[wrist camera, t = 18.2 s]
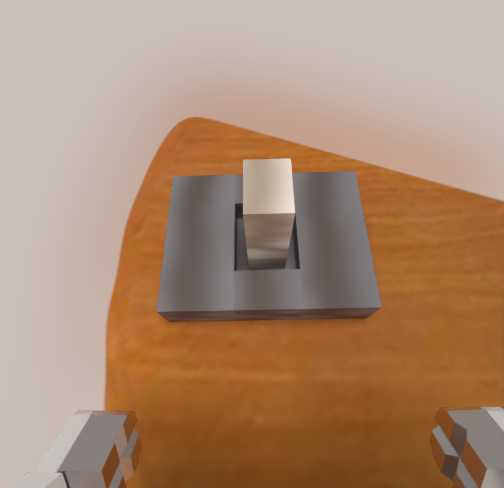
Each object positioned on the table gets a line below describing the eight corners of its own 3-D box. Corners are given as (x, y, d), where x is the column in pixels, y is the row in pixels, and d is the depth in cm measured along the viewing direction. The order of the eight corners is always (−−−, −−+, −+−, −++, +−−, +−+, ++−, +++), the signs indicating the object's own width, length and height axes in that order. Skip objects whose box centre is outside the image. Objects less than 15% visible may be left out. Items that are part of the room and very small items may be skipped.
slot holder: (345, 194, 30) (355, 171, 27) (366, 317, 25) (381, 307, 22) (182, 198, 30) (173, 176, 27) (169, 321, 25) (156, 311, 22)
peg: (282, 227, 27) (290, 158, 19) (284, 269, 26) (295, 213, 18) (248, 227, 27) (243, 159, 19) (249, 269, 26) (242, 214, 18)
